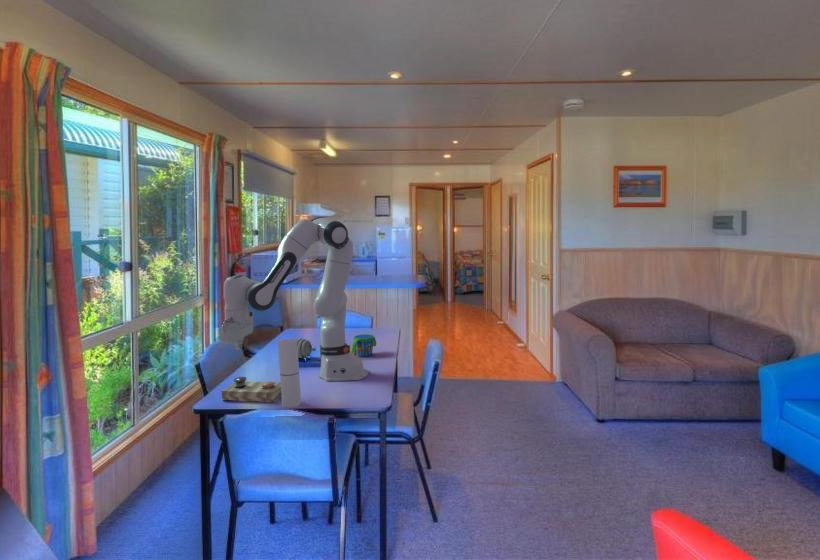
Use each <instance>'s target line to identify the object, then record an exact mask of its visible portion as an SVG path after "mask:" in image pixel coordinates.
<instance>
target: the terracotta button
mask: <svg viewBox="0 0 820 560" xmlns="http://www.w3.org/2000/svg"><path fill="white" fill-rule="evenodd" d="M263 382H264V383H262V387H264V389H271V388H272V386H273V385H274V382H275V381H263Z"/></svg>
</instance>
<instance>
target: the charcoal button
mask: <svg viewBox="0 0 820 560" xmlns="http://www.w3.org/2000/svg"><path fill="white" fill-rule="evenodd" d="M233 381H234V383H235V382H236V388H244V387H245V382H247V376H239V377H235V378H234V379H233Z"/></svg>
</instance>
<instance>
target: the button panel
mask: <svg viewBox="0 0 820 560" xmlns="http://www.w3.org/2000/svg"><path fill="white" fill-rule="evenodd" d="M264 382H265V381H245V387H244V388H236V382H234V383H232V384H230V385H229V386H227V387H226V388H224V389H222V390H221V400H235V401H234V402H247V401H259V402H258V403H275V402H276V401H277V400H279V399H280V398H282V395H281V382H278V381H277V382H275V381H273V382H274V385H273V386H272V388H271V389H264V387H262V383H264ZM237 400H238V401H237ZM240 400H241V401H240Z"/></svg>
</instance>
